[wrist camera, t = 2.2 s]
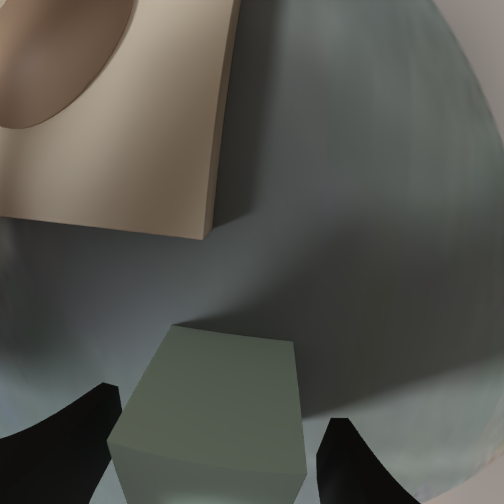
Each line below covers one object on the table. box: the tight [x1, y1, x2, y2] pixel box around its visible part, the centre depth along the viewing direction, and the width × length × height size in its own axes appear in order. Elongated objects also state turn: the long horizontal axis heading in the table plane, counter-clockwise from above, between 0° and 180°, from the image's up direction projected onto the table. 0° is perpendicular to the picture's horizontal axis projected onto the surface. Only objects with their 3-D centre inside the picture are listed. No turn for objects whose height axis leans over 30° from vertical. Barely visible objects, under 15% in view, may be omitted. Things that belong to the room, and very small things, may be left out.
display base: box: [0, 0, 241, 240], centre depth 8 cm, size 14×14×2 cm
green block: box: [107, 325, 307, 504], centre depth 9 cm, size 4×4×6 cm
